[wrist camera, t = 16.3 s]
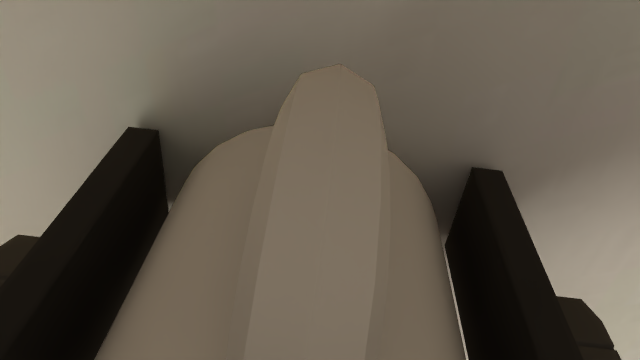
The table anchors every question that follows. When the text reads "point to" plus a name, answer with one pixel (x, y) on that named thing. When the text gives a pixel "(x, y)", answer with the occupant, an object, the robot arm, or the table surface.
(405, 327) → the cup
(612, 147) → the table surface
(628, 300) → the table surface
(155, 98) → the table surface
